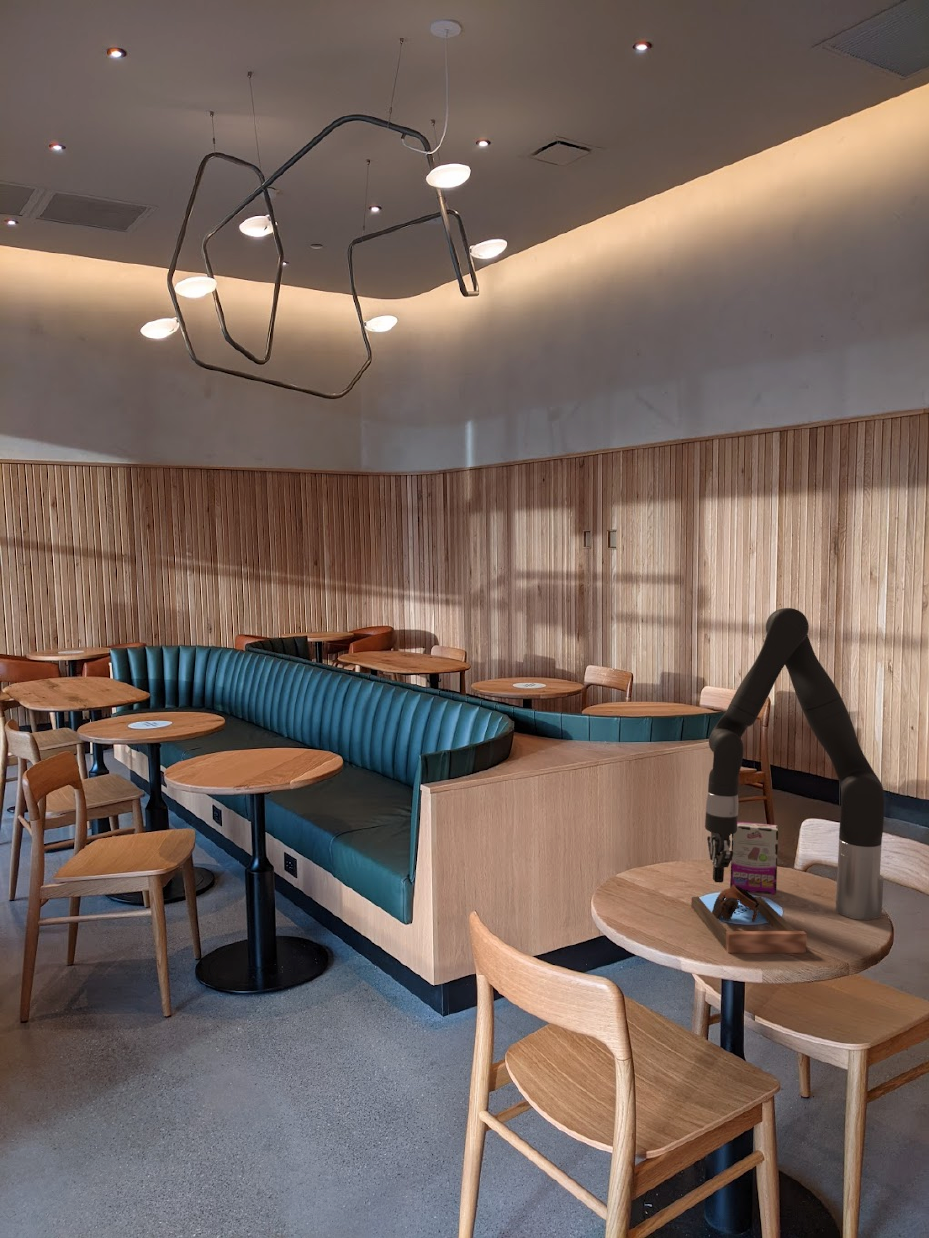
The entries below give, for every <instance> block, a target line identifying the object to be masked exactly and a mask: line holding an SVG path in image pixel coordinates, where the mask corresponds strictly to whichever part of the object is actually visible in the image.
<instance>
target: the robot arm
mask: <svg viewBox="0 0 929 1238" xmlns="http://www.w3.org/2000/svg"><path fill="white" fill-rule="evenodd" d="M809 629H810V628H809V621H808V619H807V616H806V615H805V614H804V613H803V612H802V611H800V610H799V609H796V608H793V607H792V608H790V607H784V608H779V609H776V610H774V611H773V612H772V613H771V614H770V615H769V616H768V618H767V620H766V623H765V633H766V634H765V635H766V636H765V639H764V641H763V645H762V646H761V647H762V648H761V650H760V651H759V653H758V656H757V657H756V659H755V661H754V663H753V664H752V666H751V668H750V669H749V670H748V672H747V673H746V675H745V676H744V678H743V679H742V681H741V683H740V684H739V685H738V688H737V689H736V691H735V693H734V695H733V697H732V699H731V700H730V703H729V704H728V707H727V709H726V711H725V712H724V713H723V715H721V717H720V719H719V720H717V721H718V722H717V723H716V724H715V726H714V727H713V729H712V730H711V733H710V735H709V738H708V746H709V749H710V751H712V753H713V760H712V761H713V762H712V768H711V769H710V770H709V771H710V772H709V774H708V775H709V776H708V784H707V785H708V786H707V790H708V791H707V796H706V803H705V805H706V806H705V819H704V821H705V823H704V828H705V830H706V831H707V832H709V833H710V836H707V838H706V840H707V846H708V852H709V860H710V861H711V864H712V866H713V867H712V881H713V882H714V883H723V882H724V881H725V880H724V879H725V878H724V877H725V868H729V866H730V865H731V859H732V857H733V851H731V850H730V848H731V844H732V840H731V838H730V836H732V834H734V833H736V832H737V823H738V822H739V785H740V783H739V782H740V779H739V776H740V773H741V768H742V763H743V758H744V743H743V740H742V737H743V735H744V733H745V731H746V729H748V727H752V726H753V724H755V722H756V721H757V718H758V717H759V716H760V715H759V714H760V713H761V710H762V709H763V707H764V705H765V704H766V702H767V699H768V697H769V695H770V693H771V692H772V689H773V688H774V685H775V683H776V681H777V679H778V678H779V676H780V674H781V672H782V670H783V669H784V667H786V670H787V671H788V675H789V678H790V681H791V684H792V687H793V690H794V692H795V695H796V698H797V700H798V702H799V705H800V708H801V710H802V712H803V714H804V716H805V719H806V720H807V723H808V725H809V727H810V729H811V731H812V732H813V734H814V736H815V737H816V739H817V741H818V742H819V744H820V745H821V746H822V747H823V749H824V751H825V753H826V754H827V755H828V757H829V759H830V761H831V763H832V766H833V768H834V771H835V774H836V777H837V780H838V784H839V786H840V792H841V794H840V796H841V797H840V815H839V816H840V817H839V818H840V819H839V828H838V831H839V832H838V834H839V835H838V855H837V875H836V893H835V911H836V912H837V914H840V915H842V916H843V917H845V918H846V917H847V918H850V919H854V920H862V921H864V920H866V921H867V920H868V921H869V920H875V919H876V918H882V916H883V899H884V897H883V895H884V879H885V878H884V876H883V875H881V864H882V863H881V862H882V859H881V858H882V843H883V842H882V841H883V834H884V824H885V823H884V821H885V820H884V819H885V804H886V803H885V802H886V794H885V790H884V787H883V783H882V781H881V780H880V779H879V777H878V776H877V775H876V773H875V771H874V769H873V768H872V766H871V763H869V761H868V760H867V757H866V756H865V754H864V752H863V750H862V748H861V746H860V743H859V740H858V737H857V733H856V731H855V728H854V725H853V722H852V719H851V717H850V716H851V715H850V714H849V712H848V708H847V706H846V704H845V703H844V700H843V698H842V696H841V694H840V692H839V690H838V689H837V687H836V685H835V684H834V683H835V682H833V680H832V678H831V677H830V675H829V674H828V672H827V671H826V669H825V668H824V667H823V666H822V664H821V661H819V659H818V657H817V656H816V653H815V651H814V649H813V646H812V643H811V641H810V638H809V635H808V634H809Z"/></svg>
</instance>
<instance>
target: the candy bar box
mask: <svg viewBox="0 0 929 1238" xmlns="http://www.w3.org/2000/svg"><path fill="white" fill-rule="evenodd" d="M778 843H779V827H778V824H768V823H767V824H766V823H757V822H755V823H754V822H745V821H744V822H743V821H738V823H737V832H736V833H734V834H731V846H730V848H731V850H730V851H733V857H732V859H731V861H730V881H729V882H730V884H729V888H731V886H732V885H737V886H739V887H741V888H742V889H744V890H745V891H747V892H748V893H749V892H750V893H759V894H760V893H761V894H769V895H776V894H777V883H778V880H777V879H778V850H779V849H778V847H779V844H778Z"/></svg>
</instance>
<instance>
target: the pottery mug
mask: <svg viewBox="0 0 929 1238" xmlns="http://www.w3.org/2000/svg"><path fill="white" fill-rule="evenodd" d="M754 897H755V896H753V895H752V894H751V892H750V893H749V891H745V890H744V889H742V888H741V887H739V886H737V885H732V886H731V888H730V887H729V888H726V889H724V890H722V891H721V892H720V893H719V894H718V895H717V897H716V899H715V901H714V904H713V908H712V911H711V912H712V913H713V915H714V916H715V917H716V918H717V919H719V920H720V918H722V919H723V920H727V921H728V920H730V921H731V920H732V917H733V915H734V913H735V912H736V910H737V909H738V907H739V903H740V905H742V906H744V907H745V908H748V909H749V910H751V911H753V912H752V917H751V922H755V920H756V919H757V917H758V911H757V907H758V906H759V905H760V904H759V902H758V901H757V900H756V899H755V898H754Z"/></svg>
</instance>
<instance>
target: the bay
mask: <svg viewBox="0 0 929 1238" xmlns="http://www.w3.org/2000/svg"><path fill="white" fill-rule="evenodd" d="M753 897H754V898H755V899H756V900H757V901H758V902H759V904H760V905H759V906H758V907H757V913H759V914H760V915H761V916H762V917H763V919H765V920H766V921H767V922H768V924H770V925H771V927H773V928H774V929H775V930H763V931H762V930H758V931H757V930H755V931H754V930H753V931H751V930H746V931H743V930H741V931H740V930H739V931H736V930H735V931H734V930H733V931H732V930H731V931H729V930H727V929H726V928H725V927H724V925H723V923H721V922H720V920H718V919H717V918H716V917H715V916H714V915H713V913H712V911H711V909H709V908H708V906H707V905H706V904H705V903H704V902H703V900H702V899H701V898H700V897H699V896H691V902H690V903H691V904H690V905H691V909H692V908H693V909H694V910H693V909H692V910H693V912H695V914H696V913H697V914H696V915H697V916H698V918H701V919H702V920H701V919H700V920H701V921H702V923H705V924H704V925H705V926H706V927H707V929H708V928H709V929H708V930H709V931H710V932H711V933H712V935H713V936H714V937H715V938H716V940H717V941H718V942H719V944H720V945H721V947H723V949H724V950H725V951H726V952H727V954H763V953H764V954H765V953H767V954H769V953H770V954H771V953H773V954H775V953H776V954H777V953H779V954H781V953H783V954H785V953H788V954H789V953H791V954H792V953H793V954H795V953H797V954H799V953H802V954H803V953H804V954H805V953H807V951H806V950H807V933H806V932H805V931H804V930H796V929H795V928H794V927H792V925H790V924H789V923H788V922H787V920H785V919H784V918H783V917H782V915H780V914H779V913H778V912H777V911H776V910H775V909H774V908H773V907H772V906H771V905H770V904H769V903H768V902H767V900H765V899H764V898H762V896H753Z"/></svg>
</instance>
